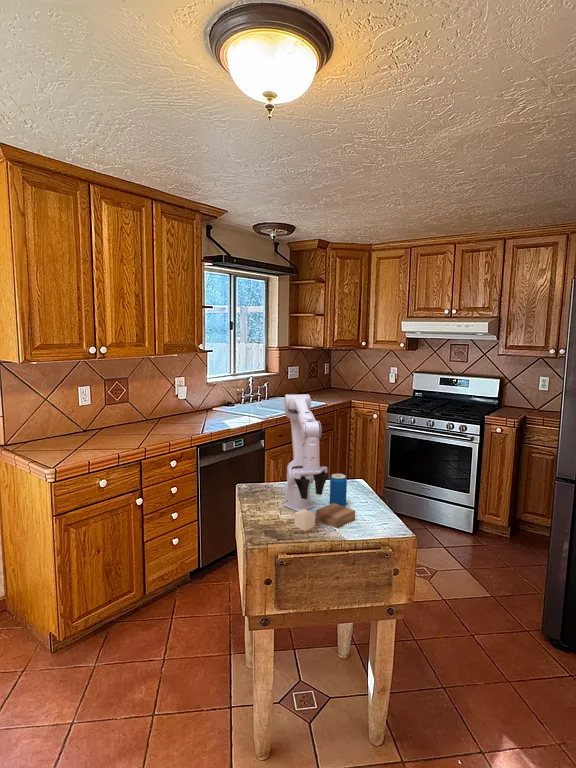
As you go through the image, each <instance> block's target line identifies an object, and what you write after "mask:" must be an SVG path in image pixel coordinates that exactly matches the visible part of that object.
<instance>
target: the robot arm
mask: <svg viewBox="0 0 576 768" xmlns="http://www.w3.org/2000/svg"><path fill="white" fill-rule="evenodd" d="M283 400H284V401H283V405H284V406H283V407H284V414H285V417H286V418H288V419H289V421H290V425H291V426H290V428H291V429H290V430H291V431H290V432H291V441H292V455H293V457H292V458H293V460H292V461H290V462H289V463H288V464H287V466H286V480H287V481H286V482H287V484H286V485H285V489H284V503H283V505H284V507H285V508H289V509H291V510H294V511H295V512H298V511H301V510H303V509H306V510H308V511H309V510H310V509H312V508H315V506H314V504H310V494H311V493H310V490H311V489H310V487H311V486H312V484H313V483H314V487H315V488H314V490H315V494H316V495H318V496H321V495H322V496H323V491H324V486H325V484H326V482H327V479H328V478H329V474H328V466H321V465H320V463H321V462H320V456H321V455H320V439H321V438H322V425H321V424H322V423H321V422H320V420H316V418H315V415H314V414H313V412H312V411H311V410H310V409H311V404H312V401H311V396H310V394H308V393H306V394H304V393H303V394H287V393H286V394H285V395H284V398H283Z"/></svg>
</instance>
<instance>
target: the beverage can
mask: <svg viewBox="0 0 576 768" xmlns="http://www.w3.org/2000/svg"><path fill="white" fill-rule="evenodd" d="M347 482H348V479H347V476H346V475H345V474H343V473H333V474H331V476H330V478H329V505H330V504H332V503H336V504H338V505H341V506H344V507H346V505H347V493H348V492H347V489H348V488H347V485H348V483H347Z"/></svg>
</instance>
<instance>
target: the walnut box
mask: <svg viewBox="0 0 576 768" xmlns="http://www.w3.org/2000/svg"><path fill="white" fill-rule="evenodd" d="M315 521H318V522H320V523H323V524H325V525H328V526H330V527H332V528H335V529H337V528H338V529H340V528H342V527H344V526H346V525H348V524H350V523H352V522H354V521H356V510H355V509H352V508H349V507H346V506H341V505H338V504H336V503H332V504H330V503H329V504H328V505H326V506H323V507H321V508H319V509H316V511H315ZM349 522H350V523H349ZM347 523H348V524H347ZM345 524H346V525H345ZM343 525H344V526H343Z"/></svg>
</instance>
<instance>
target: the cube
mask: <svg viewBox="0 0 576 768" xmlns="http://www.w3.org/2000/svg"><path fill="white" fill-rule="evenodd" d="M294 527H296V528H298V529H300V530H302V531H304V532H305V531H307V530H310V529H312V528H315V527H316V512H313V511H311V510H309V509H308V510H306V509H303V510H301V511H295V512H294Z"/></svg>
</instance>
